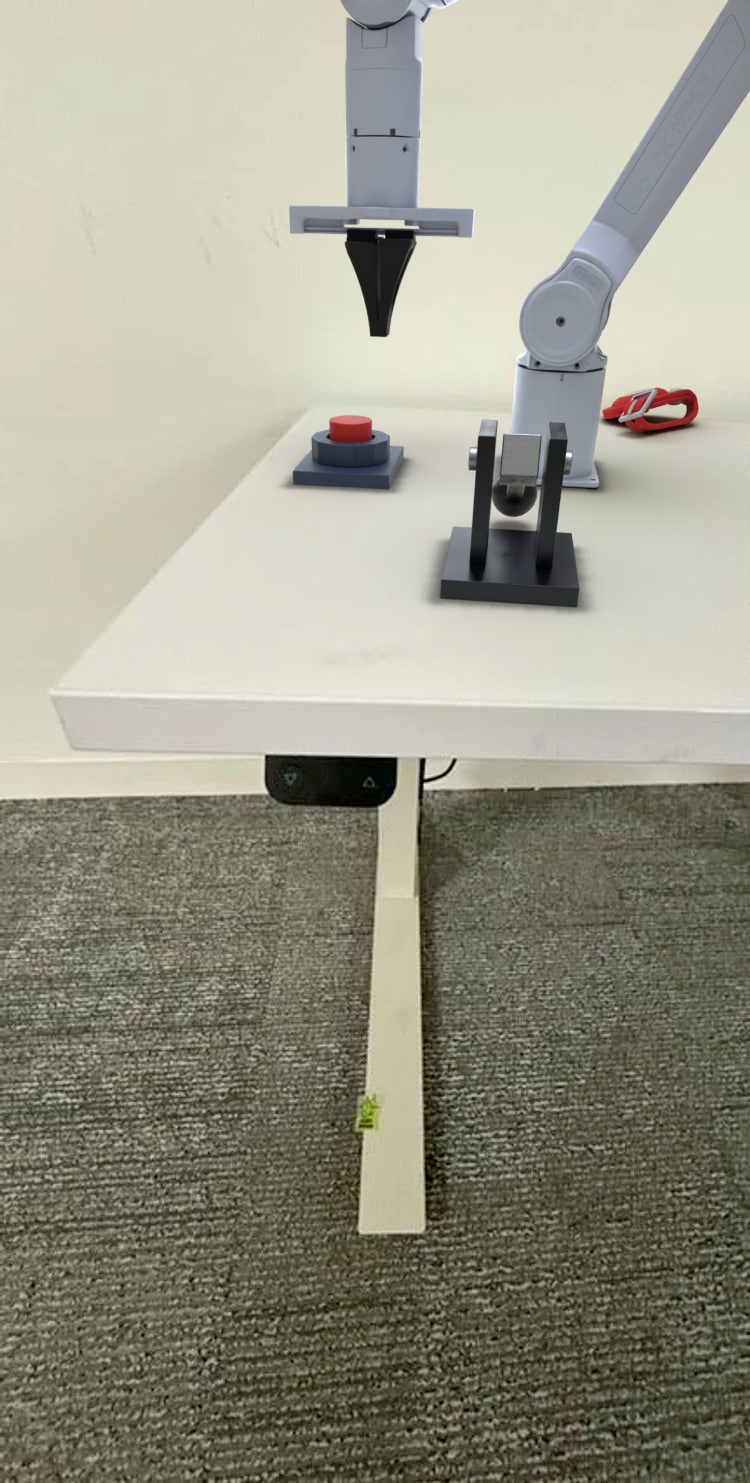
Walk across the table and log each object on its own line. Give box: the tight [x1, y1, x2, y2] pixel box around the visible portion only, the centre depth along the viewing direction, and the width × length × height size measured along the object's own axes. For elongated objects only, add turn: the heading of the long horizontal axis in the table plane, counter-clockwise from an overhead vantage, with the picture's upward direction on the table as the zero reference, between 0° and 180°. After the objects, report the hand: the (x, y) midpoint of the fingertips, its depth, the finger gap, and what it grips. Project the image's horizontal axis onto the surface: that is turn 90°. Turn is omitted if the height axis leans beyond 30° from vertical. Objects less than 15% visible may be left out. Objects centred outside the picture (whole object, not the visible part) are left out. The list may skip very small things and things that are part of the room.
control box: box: [292, 428, 405, 490], centre depth 74 cm, size 10×8×3 cm
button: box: [328, 414, 373, 442], centre depth 73 cm, size 4×4×2 cm
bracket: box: [439, 419, 580, 608], centre depth 53 cm, size 10×8×9 cm
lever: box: [491, 432, 542, 518], centre depth 56 cm, size 13×3×3 cm, turn 172°
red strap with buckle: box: [601, 387, 699, 433], centre depth 91 cm, size 12×4×10 cm
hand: (379, 335), depth 73 cm, fingers closed
